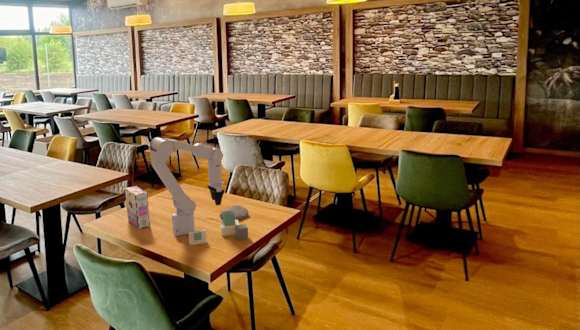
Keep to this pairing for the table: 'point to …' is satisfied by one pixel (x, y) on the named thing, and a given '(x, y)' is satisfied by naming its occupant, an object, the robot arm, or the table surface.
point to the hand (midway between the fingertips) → (216, 202)
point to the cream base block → (228, 228)
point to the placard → (197, 237)
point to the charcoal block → (241, 232)
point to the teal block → (229, 218)
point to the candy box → (137, 207)
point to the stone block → (236, 212)
